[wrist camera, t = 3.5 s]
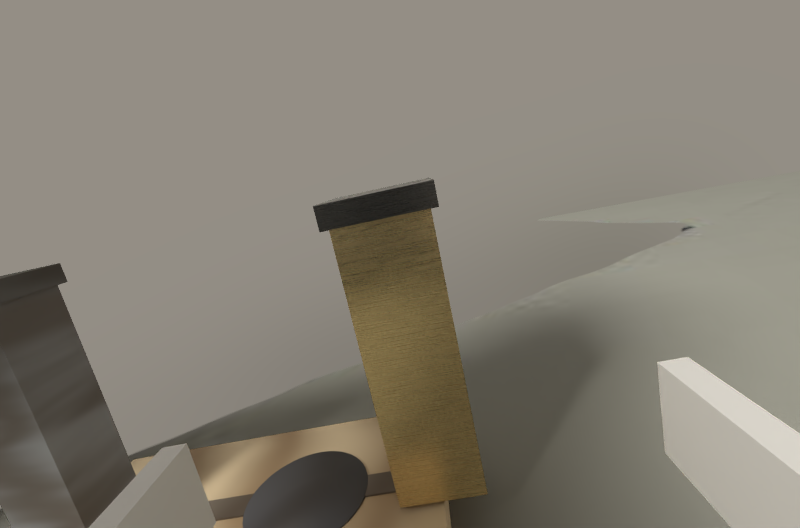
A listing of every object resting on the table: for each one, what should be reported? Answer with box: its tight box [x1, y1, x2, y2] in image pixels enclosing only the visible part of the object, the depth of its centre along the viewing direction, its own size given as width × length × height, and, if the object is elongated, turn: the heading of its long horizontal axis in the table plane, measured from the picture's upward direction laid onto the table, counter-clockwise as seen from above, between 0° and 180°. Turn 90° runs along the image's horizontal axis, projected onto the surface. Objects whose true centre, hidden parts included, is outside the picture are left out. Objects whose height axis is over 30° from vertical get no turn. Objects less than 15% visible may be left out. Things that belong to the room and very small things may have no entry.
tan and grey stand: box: [0, 264, 451, 528], centre depth 20 cm, size 22×12×16 cm, turn 88°
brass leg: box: [313, 178, 488, 508], centre depth 19 cm, size 5×5×14 cm
